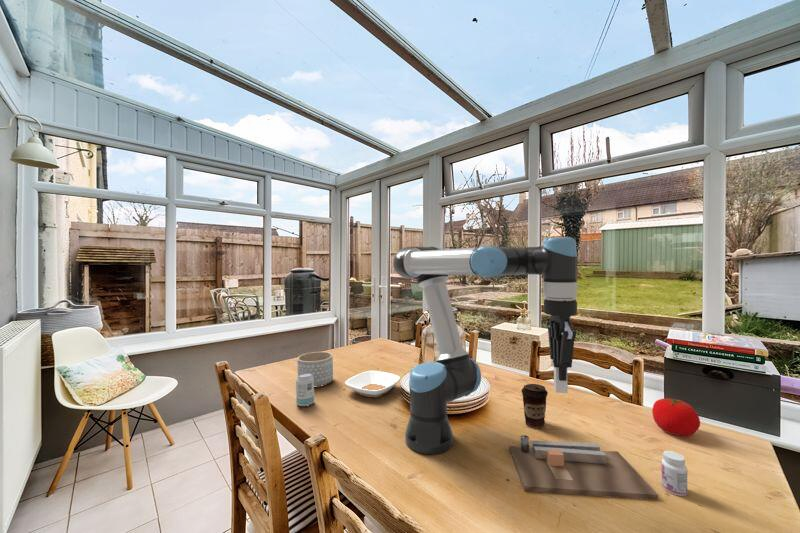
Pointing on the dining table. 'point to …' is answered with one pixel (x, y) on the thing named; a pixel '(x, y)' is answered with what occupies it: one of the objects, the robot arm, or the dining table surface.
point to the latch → (555, 457)
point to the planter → (317, 366)
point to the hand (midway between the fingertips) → (560, 391)
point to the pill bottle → (674, 473)
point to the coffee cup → (534, 405)
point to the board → (581, 476)
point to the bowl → (372, 382)
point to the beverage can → (304, 389)
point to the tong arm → (573, 455)
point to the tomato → (675, 417)
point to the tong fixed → (556, 445)
